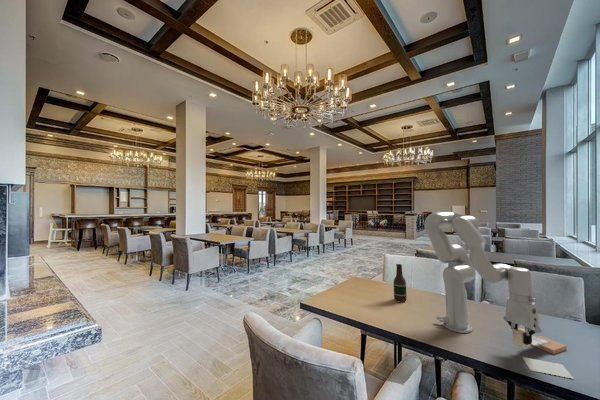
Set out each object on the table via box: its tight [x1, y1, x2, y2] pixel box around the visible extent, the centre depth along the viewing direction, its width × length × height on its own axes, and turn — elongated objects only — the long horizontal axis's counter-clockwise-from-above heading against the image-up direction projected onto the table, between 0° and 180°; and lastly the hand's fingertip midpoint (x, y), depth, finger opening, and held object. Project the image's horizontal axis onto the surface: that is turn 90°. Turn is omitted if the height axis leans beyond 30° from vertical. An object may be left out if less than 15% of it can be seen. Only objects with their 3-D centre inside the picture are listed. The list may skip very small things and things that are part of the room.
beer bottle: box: [393, 263, 408, 303], centre depth 170 cm, size 8×8×24 cm
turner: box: [512, 327, 550, 349], centre depth 109 cm, size 16×6×6 cm, turn 108°
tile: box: [534, 335, 567, 355], centre depth 112 cm, size 2×9×9 cm
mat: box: [522, 356, 575, 380], centre depth 97 cm, size 12×9×1 cm
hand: (522, 341), depth 107 cm, fingers closed on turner, 3 cm apart
